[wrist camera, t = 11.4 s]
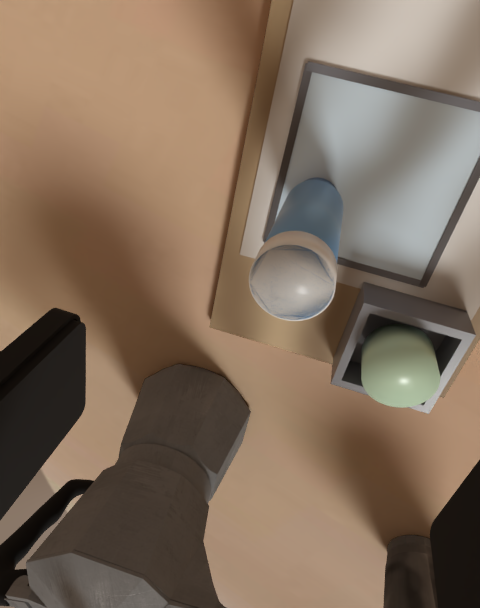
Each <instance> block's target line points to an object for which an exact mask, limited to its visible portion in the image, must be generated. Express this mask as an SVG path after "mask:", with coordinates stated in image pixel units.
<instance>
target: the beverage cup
mask: <svg viewBox="0 0 480 608" xmlns="http://www.w3.org/2000/svg"><path fill="white" fill-rule="evenodd" d="M387 554H388V555H387V562H386V568H385V589H384V608H438V601H437V593H436V584H435V576H434V567H433V559H432V551H431V542H430V539H428V538H425V537H422V536H416V535H405V536H400V537H397V538H395V539H393V540H391V542H390V543H389V544H388V548H387Z"/></svg>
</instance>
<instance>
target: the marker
mask: <svg viewBox="0 0 480 608" xmlns="http://www.w3.org/2000/svg"><path fill="white" fill-rule="evenodd" d="M342 217H343V201H342V198H341V196H340V194H339V192H338V191H337V189H336V188H335V186H334V185H333V184H332V183H331V182H330V181H328V180H326V179H323V178H317V177H316V178H310V179H307V180H305V181H304V182H301V183H299V184H298V185H296V186H295V187H294V188H293V189H292V190H291V191H290V192H289V194H288V196H287V198H286V200H285V202H284V204H283V206H282V208H281V210H280V212H279V214H278V216H277V218H276V220H275V222H274V224H273V227H272V229H271V231H270V233H269V235H268V237H267V239H266V241H265V243H264V244H263V246H262V247H261V249H260V250H259V252H258V254H257V256H256V258H255V260H254V262H253V264H252V267H251V269H250V273H249V287H250V291H251V293H252V296H253V298H254V299H255V301H256V302H257V303H258V305H259V306H260V307H261V308H262V309H263V310H265V311H266V312H267V313H269V314H270V315H272V316H274V317H277V318H279V319H283V320H288V321H303V320H307V319H310V318H313V317H315V316H317V315H319V314H320V313H322V312H323V311H324V310H325V309H326V308H327V307H328V306H329V304H330V303H331V301H332V299H333V297H334V294H335V288H336V279H337V259H338V251H339V242H340V234H341V226H342Z"/></svg>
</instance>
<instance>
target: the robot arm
mask: <svg viewBox="0 0 480 608" xmlns="http://www.w3.org/2000/svg"><path fill="white" fill-rule="evenodd" d="M85 386H86V327H85V324H84V323H81V321H80V317H79V316H78V315H77V314H73V313H70V312H67V311H64V310H61V309H58V308H53V309H51V310H50V311H48V312H47V313H46V314H45V315H44V316H43V317H41V318H40V319H39V320H38V321H37V322H35V323H34V324H33V325H32V326H31V327H30V328H28V329H27V330H26V331H25V332H24V333H22V334H21V335H20V336H19V337H18V338H17V339H15V340H14V341H13V342H12V343H11V344H9V345H8V346H7V347H6V348H5V349H4V350H2V351H0V520H1V519H2V517H3V516H4V515H5V514H6V512H7V511H8V510H9V508H10V507H11V506H12V505H13V503H14V502H15V501H16V499H17V498H18V497H19V495H20V494H21V493H22V492H23V490H24V489H25V488H26V486H27V485H28V484H29V482H30V481H31V480H32V479H33V477H34V476H35V475H36V473H37V472H38V470H40V468H41V467H42V466H43V464H44V463H45V462H46V460H47V459H48V458H49V457H50V455H51V454H52V453H53V451H54V450H55V449H56V447H57V446H58V445H59V444H60V442H61V441H62V440H63V438H64V437H65V436H66V434H67V433H68V432H69V431H70V429H71V428H72V427H73V425H74V424H75V423H76V421H77V420H78V419H79V417H80V416H81V414H82V412H83V410H84V407H85ZM430 542H431V551H432V559H433V567H434V576H435V584H436V593H437V601H438V608H480V460H479V461H478V463H477V464H476V465H475V467H474V468H473V469H472V471H471V472H470V473H469V475H468V476H467V477H466V479H465V480H464V481H463V483H462V484H461V485H460V487H459V488H458V489H457V491H456V492H455V493H454V495H453V496H452V497H451V499H450V500H449V501H448V503H447V504H446V505H445V507H444V508H443V509H442V511H441V512H440V513H439V515H438V516H437V517H436V519H435V520H434V522H433V523H432V526H431V530H430Z"/></svg>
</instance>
